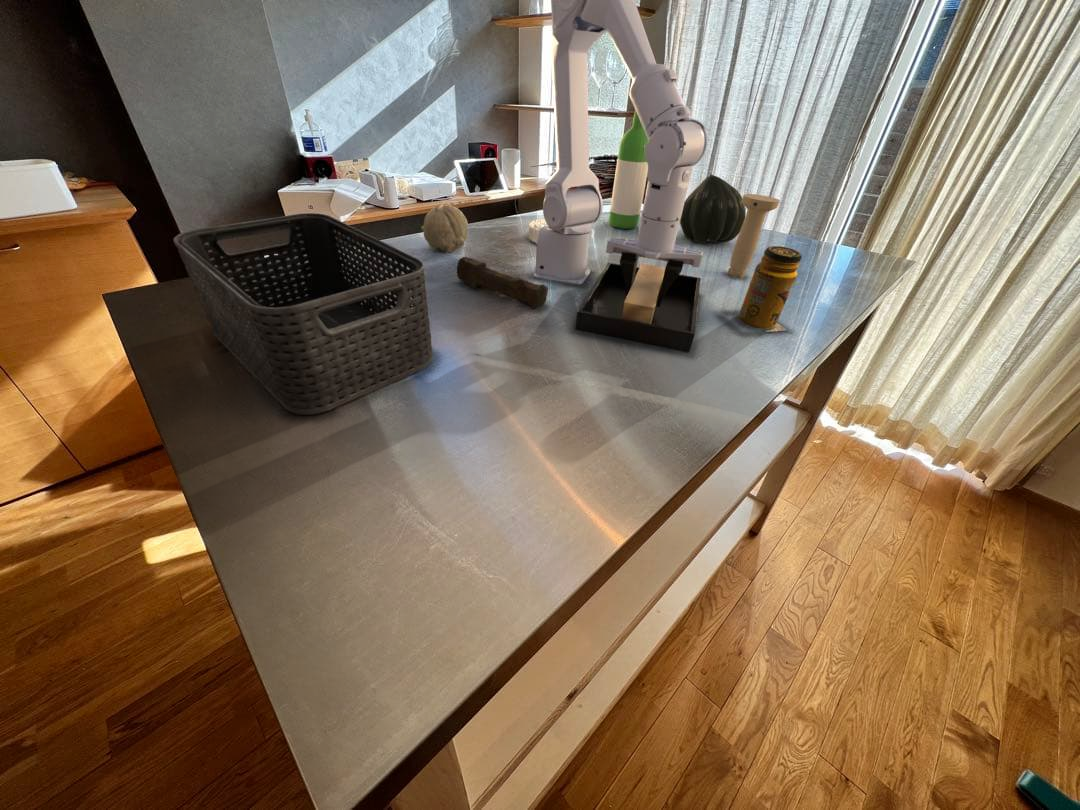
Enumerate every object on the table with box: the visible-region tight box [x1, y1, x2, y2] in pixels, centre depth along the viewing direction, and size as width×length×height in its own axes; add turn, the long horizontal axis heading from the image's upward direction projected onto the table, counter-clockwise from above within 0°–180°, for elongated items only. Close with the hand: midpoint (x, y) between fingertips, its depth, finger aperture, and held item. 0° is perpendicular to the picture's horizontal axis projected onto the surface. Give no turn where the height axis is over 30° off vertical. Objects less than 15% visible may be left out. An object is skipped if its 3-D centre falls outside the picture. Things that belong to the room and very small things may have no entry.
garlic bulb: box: [420, 204, 469, 253], centre depth 92 cm, size 9×8×10 cm
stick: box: [622, 263, 666, 324], centre depth 73 cm, size 4×18×4 cm, turn 162°
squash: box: [679, 174, 747, 244], centre depth 107 cm, size 14×15×15 cm
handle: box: [727, 193, 781, 279], centre depth 87 cm, size 5×6×15 cm
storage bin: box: [172, 212, 434, 416], centre depth 57 cm, size 29×19×13 cm
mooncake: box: [528, 218, 548, 245], centre depth 103 cm, size 12×12×4 cm
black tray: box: [575, 262, 702, 354], centre depth 74 cm, size 17×23×3 cm
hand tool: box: [456, 256, 549, 310], centre depth 77 cm, size 19×4×5 cm, turn 53°
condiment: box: [720, 245, 803, 333], centre depth 70 cm, size 7×8×12 cm
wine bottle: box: [608, 109, 649, 230], centre depth 107 cm, size 8×8×30 cm
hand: (642, 301), depth 74 cm, fingers closed on stick, 4 cm apart
